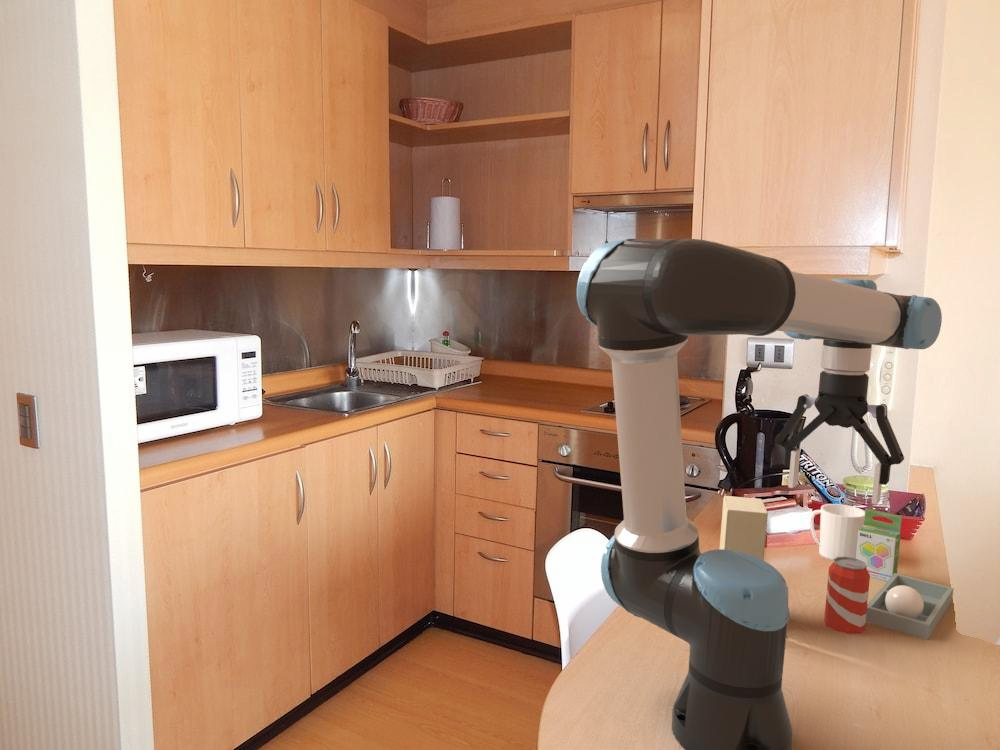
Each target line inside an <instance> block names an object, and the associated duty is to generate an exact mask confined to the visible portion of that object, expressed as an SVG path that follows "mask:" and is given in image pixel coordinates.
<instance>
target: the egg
mask: <svg viewBox="0 0 1000 750" xmlns="http://www.w3.org/2000/svg"><path fill="white" fill-rule="evenodd" d="M885 605H886V608H887V610H888V612H891V613H895V614H898V615H902V616H905V617H909V618H912V619H917V618H918V617H919V616H920V615H921V614H922V612H923V609H924V602H923V599H922V597H921V595H920V594H919V593H918V592H917V591H916V590H915V589H913V588H912V587H909V586H905V585H899V586H895V587H893V588H891V589H890V590H889V591H888V592H887V594H886V597H885Z"/></svg>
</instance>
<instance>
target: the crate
mask: <svg viewBox="0 0 1000 750" xmlns="http://www.w3.org/2000/svg"><path fill="white" fill-rule="evenodd" d="M899 585H905V586H909V587H912V588H913V589H915V590H916V591H917V592H918V593H919V594H920V595H921V597H922V599H923V602H924V609H923V612H922V614H921V615H920V616H919V617H918V618H917V619H912V618H909V617H905V616H902V615H898V614H895V613H891V612H888V610H887V608H886V605H885V597H886V594H887V592H888V591H889V590H890V589H891V588H893V587H895V586H899ZM954 590H955V589H954V587H951V586H947V585H944V584H939V583H936V582H932V581H927V580H923V579H920V578H916V577H911V576H908V575H904V574H899V573H897V574H896V573H894V574H893V575H892V577H891V578H890V579H889V580H888V581H887V582H885V583H884V585H883V586H881V588H880V589H879V590H878V591H877V593H875V595H874V596H873V597H872V598H871V599H870V600H869V601H868V602H867V612H866V622H865V623H869V624H873V625H877V626H879V627H884V628H887V629H889V630H893V631H897V632H899V633H904V634H907V635H910V636H914V637H916V638H917V637H918V638H921V639H924V640H929V638H930V637H931V636H932V634H933V632H934V630H935V629H936V627H937V626H938V624H939V623H940V621H941V619H942V618H943V616H944V615H945V613H946V611H947V609H948V608H949V606H951V604H952V602H953V597H954V596H953V595H954Z"/></svg>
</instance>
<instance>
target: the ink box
mask: <svg viewBox="0 0 1000 750" xmlns="http://www.w3.org/2000/svg"><path fill="white" fill-rule="evenodd" d="M864 511H865V519H864V525H863V527H862V528H861V529H860V530H859V531H858V541H857V553H856V559H859V560H861V561H863V562H865V563H866V565H867V570H868V573H869V575H870V579H874V580H878V581H881V582H885V583H886V582H887V581H888V580H889V579H890V578H891V577H892V575H893V574H894V573H896V574H898V565H899V557H900V546H901V545H900V544H901V535H902V534H901V528H902V527H901V526H902V520H903V515H899V514H898V515H897V514H893V513H889V512H885V511H880V510H874V509H871V508H865V510H864ZM873 517H883V518H886V519H888V520H890V521H892V523H890V522H885V521H881V520H876V519H874V518H873Z"/></svg>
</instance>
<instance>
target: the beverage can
mask: <svg viewBox="0 0 1000 750" xmlns="http://www.w3.org/2000/svg"><path fill="white" fill-rule="evenodd" d="M832 561H833V562H832V563H831V564H830V566H829V567H828V574H827V587H826V595H825V609H824V619H823V620H824V621H823V622H824V623H825V625H826V627H828V628H830V629H831V630H833V631H835V632H839V633H843V634H848V635H851V634H861V633H862V632H864V631H865V630H866V629H865V628H866V623H867V622H866V612H867V604H868V603H869V601H868V600H869V591H870V589H869V588H870V580H871V578H870V575H869V573H868V570H867V565H866V563H865V562H863V561H861V560H859V559H856V558H850V557H837V558H835V559H833V560H832Z"/></svg>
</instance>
